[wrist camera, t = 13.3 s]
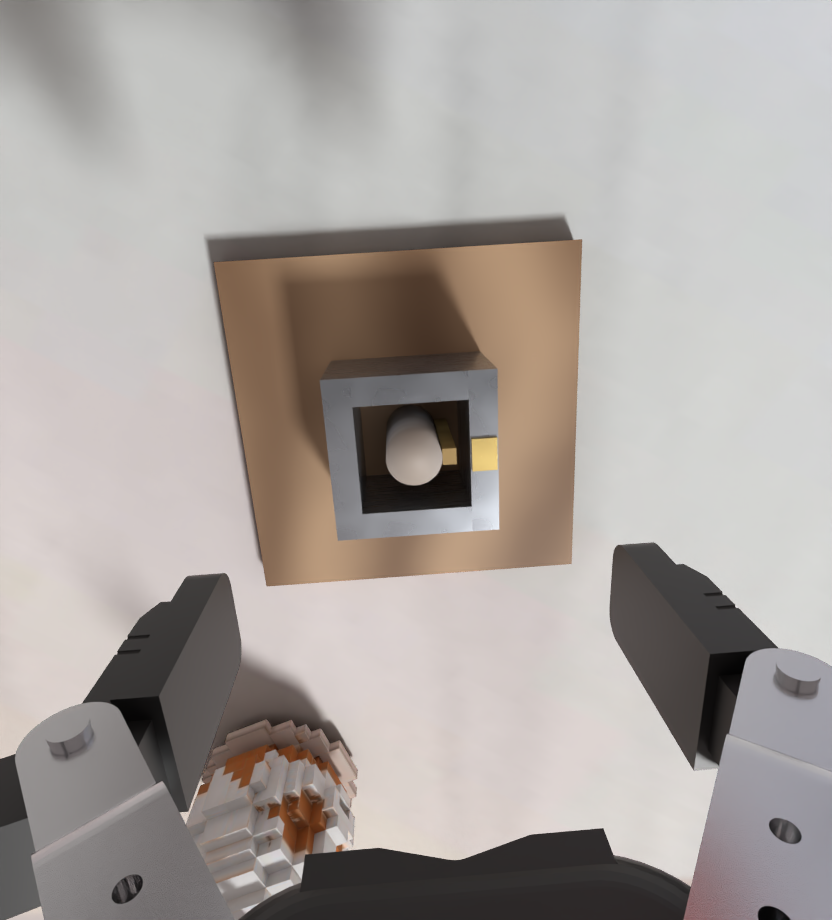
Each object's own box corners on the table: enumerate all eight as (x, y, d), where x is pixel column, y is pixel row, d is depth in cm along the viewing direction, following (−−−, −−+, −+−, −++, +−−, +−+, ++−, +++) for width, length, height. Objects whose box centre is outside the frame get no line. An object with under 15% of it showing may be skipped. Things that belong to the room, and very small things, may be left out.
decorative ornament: (378, 796, 32) (370, 1216, 18) (253, 841, 33) (150, 1279, 19) (317, 692, 30) (252, 1084, 16) (183, 743, 30) (4, 1162, 16)
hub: (345, 498, 25) (337, 542, 21) (331, 360, 23) (319, 380, 19) (483, 489, 25) (499, 530, 21) (480, 351, 23) (498, 369, 20)
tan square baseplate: (270, 575, 27) (246, 640, 23) (220, 262, 23) (176, 262, 18) (565, 553, 28) (601, 613, 23) (573, 240, 23) (621, 235, 18)
